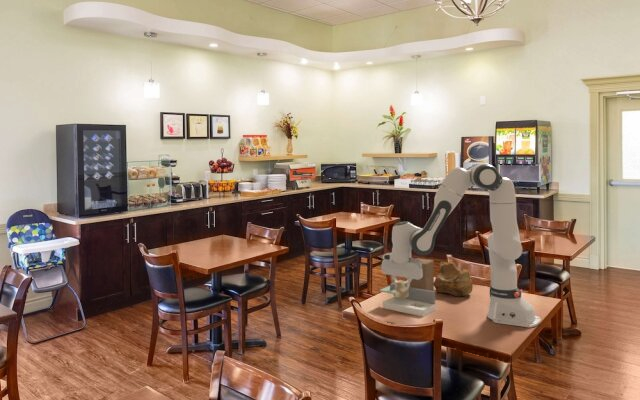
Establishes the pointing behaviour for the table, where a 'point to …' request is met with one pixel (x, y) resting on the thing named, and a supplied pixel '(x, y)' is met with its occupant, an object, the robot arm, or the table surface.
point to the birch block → (401, 289)
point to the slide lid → (389, 289)
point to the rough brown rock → (453, 280)
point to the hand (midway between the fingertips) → (401, 285)
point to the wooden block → (425, 276)
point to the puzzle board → (413, 302)
